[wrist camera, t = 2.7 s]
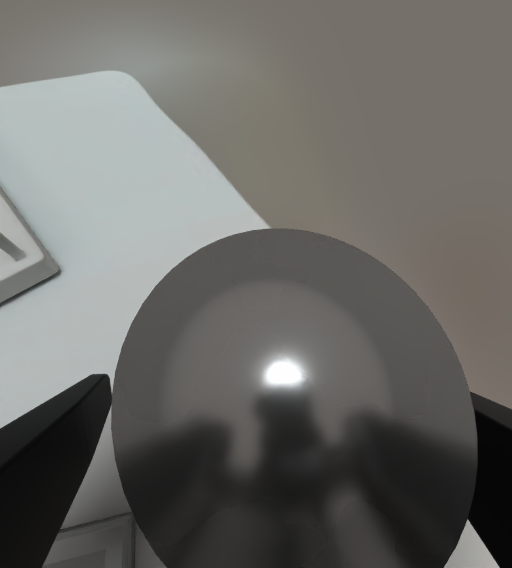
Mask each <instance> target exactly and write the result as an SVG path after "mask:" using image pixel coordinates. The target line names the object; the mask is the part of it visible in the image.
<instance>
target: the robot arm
mask: <svg viewBox="0 0 512 568" xmlns="http://www.w3.org/2000/svg"><path fill="white" fill-rule="evenodd" d="M470 395H471V400H472V404H473V408H474V414H475V422H476V430H477V457H478V464H477V473H476V482H475V491H474V495H473V499H472V503H471V507H470V511H469V515H468V520H469V521H470V523H471V525H472V526H473V528H474V529H475V531H476V532H477V534H478V535H479V537H480V538H481V540H482V541H483V543H484V544H485V546H486V547H487V549H488V550H489V552H490V554H491V555H492V557H493V558H494V560H495V561H496V563H497V564H498V566H499V567H500V568H512V409H510V408H507V407H505V406H502V405H500V404H498V403H496V402H493V401H491V400H489V399H486V398H484V397H482V396H479V395H477V394H475V393H472V392H470ZM111 404H112V393H111V386H110V378H109V376H108V375H107V374H92V375H90V376H88V377H87V378H85V379H83V380H82V381H80V382H78V383H76V384H75V385H73V386H71V387H70V388H68V389H66V390H65V391H63V392H61V393H60V394H58V395H56V396H55V397H53V398H51V399H49V400H48V401H46V402H44V403H43V404H41V405H39V406H38V407H36V408H34V409H33V410H31V411H29V412H27V413H26V414H24V415H22V416H21V417H19V418H17V419H16V420H14V421H12V422H11V423H9V424H7V425H6V426H4V427H2V428H0V568H42V567H43V565H44V562H45V560H46V558H47V556H48V554H49V552H50V550H51V547H52V545H53V543H54V541H55V539H56V537H57V535H58V532H59V530H60V528H61V526H62V524H63V522H64V520H65V517H66V515H67V513H68V511H69V509H70V507H71V504H72V502H73V500H74V498H75V496H76V494H77V492H78V489H79V487H80V485H81V483H82V481H83V479H84V477H85V474H86V472H87V470H88V468H89V465H90V463H91V461H92V458H93V456H94V453H95V450H96V447H97V444H98V442H99V439H100V436H101V433H102V430H103V427H104V424H105V422H106V419H107V416H108V413H109V410H110V407H111Z"/></svg>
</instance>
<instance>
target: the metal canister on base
mask: <svg viewBox="0 0 512 568" xmlns="http://www.w3.org/2000/svg"><path fill="white" fill-rule="evenodd" d="M111 430H112V438H113V445H114V453H115V461H116V465H117V468H118V472H119V476H120V479H121V483H122V487H123V491H124V494H125V496H126V498H127V501H128V503H129V505H130V508H131V510H132V512H133V515H134V517H135V519H136V522H137V524H138V526H139V527H140V529H141V531H142V532H143V534H144V536H145V537H146V539H147V540H148V542H149V544H150V545H151V547H152V549H153V550H154V552H155V554H156V555H157V556H158V557H159V558H160V560H161V561H162V562H163V563H164V564H165V566H166V567H167V568H444V566H445V564H446V563H447V561H448V559H449V558H450V556H451V554H452V553H453V551H454V549H455V548H456V546H457V544H458V541H459V539H460V536H461V534H462V531H463V529H464V526H465V524H466V522H467V519H468V515H469V511H470V507H471V503H472V499H473V495H474V491H475V482H476V473H477V464H478V457H477V430H476V422H475V414H474V408H473V404H472V400H471V395H470V391H469V387H468V384H467V381H466V378H465V375H464V373H463V369H462V367H461V364H460V362H459V360H458V357H457V355H456V353H455V351H454V349H453V346H452V344H451V342H450V340H449V339H448V337H447V335H446V334H445V332H444V330H443V328H442V327H441V325H440V324H439V322H438V321H437V319H436V318H435V316H434V315H433V313H432V312H431V311H430V309H429V308H428V306H427V305H426V304H425V303H424V302H423V301H422V299H421V298H420V297H419V296H418V295H417V294H416V292H415V291H414V290H413V289H412V288H411V287H410V286H409V285H407V283H406V282H404V281H403V280H402V279H401V278H400V277H399V276H398V275H397V274H395V273H394V272H393V271H392V270H391V269H389V268H388V267H387V266H385V265H384V264H383V263H381V262H380V261H378V260H376V259H375V258H374V257H372V256H371V255H369V254H367V253H365V252H363V251H362V250H360V249H358V248H356V247H354V246H352V245H350V244H347V243H345V242H343V241H340V240H338V239H335V238H332V237H328V236H325V235H322V234H318V233H314V232H309V231H303V230H294V229H261V230H252V231H248V232H243V233H239V234H234V235H232V236H229V237H226V238H223V239H220V240H217V241H215V242H213V243H211V244H209V245H207V246H205V247H203V248H201V249H199V250H198V251H196V252H195V253H193V254H191V255H190V256H188V257H187V258H185V259H184V260H183V261H182V262H180V263H179V264H178V265H177V266H176V267H174V268H173V269H172V270H171V271H170V272H169V273H168V274H167V275H166V276H165V277H164V278H163V279H162V280H161V281H160V282H159V283H158V284H157V285H156V286H155V288H154V289H153V290H152V292H151V293H150V295H149V296H148V297H147V299H146V300H145V301H144V303H143V304H142V306H141V308H140V309H139V311H138V313H137V315H136V317H135V318H134V320H133V322H132V324H131V326H130V329H129V331H128V333H127V336H126V338H125V341H124V343H123V346H122V349H121V353H120V356H119V360H118V364H117V368H116V371H115V378H114V385H113V393H112V419H111Z"/></svg>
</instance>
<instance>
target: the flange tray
mask: <svg viewBox="0 0 512 568" xmlns="http://www.w3.org/2000/svg"><path fill="white" fill-rule="evenodd" d="M135 523H136V519H135V517H134V515H133V512H130V513H126V514H122V515H118V516H114V517H110V518H106V519H102V520H98V521H94V522H90V523H86V524H82V525H78V526H73V527H69V528H65V529H61V530H59V532H58V535H57V537H56V539H55V541H54V543H53V545H52V547H51V550H50V552H49V554H48V556H47V558H46V560H45V562H44V565H43V567H42V568H134V560H135Z"/></svg>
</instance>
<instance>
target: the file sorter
mask: <svg viewBox="0 0 512 568" xmlns="http://www.w3.org/2000/svg"><path fill="white" fill-rule="evenodd" d="M57 271H58V266H57V265H56V263H55V262H54V260H53V259H52V258H51V256H50V255H49V254H48V252H47V251H46V250H45V248H44V247H43V245H42V244H41V243H40V241H39V240H38V239H37V237H36V236H35V234H34V233H33V232H32V230H31V229H30V228H29V226H28V225H27V223H26V222H25V221H24V219H23V218H22V217H21V215H20V214H19V213H18V211H17V210H16V208H15V207H14V206H13V204H12V203H11V201H10V200H9V199H8V197H7V196H6V195H5V193H4V192H3V191H2V189H1V188H0V303H1V302H3V301H5V300H6V299H8V298H10V297H12V296H14V295H16V294H18V293H19V292H21V291H23V290H25V289H27V288H29V287H31V286H33V285H35V284H36V283H38V282H40V281H42V280H44V279H46V278H48V277H50V276H52V275H53V274H55V273H56V272H57Z"/></svg>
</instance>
